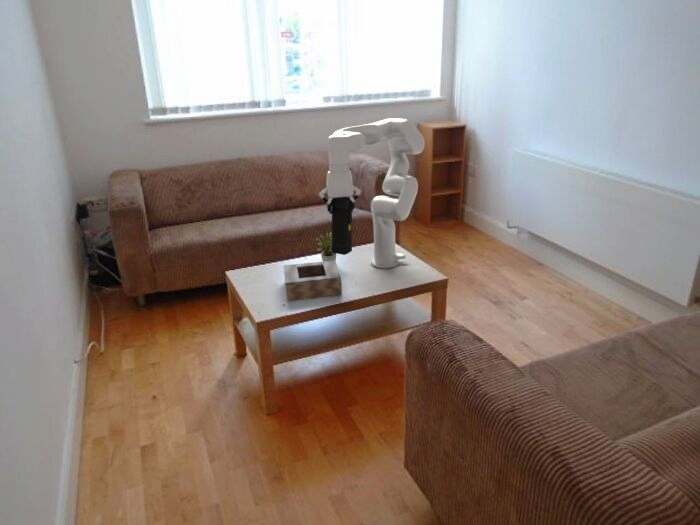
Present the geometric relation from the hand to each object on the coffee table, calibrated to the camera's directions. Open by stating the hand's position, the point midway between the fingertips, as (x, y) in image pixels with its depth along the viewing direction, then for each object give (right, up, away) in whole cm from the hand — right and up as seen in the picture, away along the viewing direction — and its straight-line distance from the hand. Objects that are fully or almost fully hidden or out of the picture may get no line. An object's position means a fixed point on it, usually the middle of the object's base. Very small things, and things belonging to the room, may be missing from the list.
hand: (340, 211), depth 205 cm
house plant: (-6, -22, +31) cm, 39 cm away
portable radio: (+1, -16, +7) cm, 17 cm away
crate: (-12, -31, +11) cm, 35 cm away
